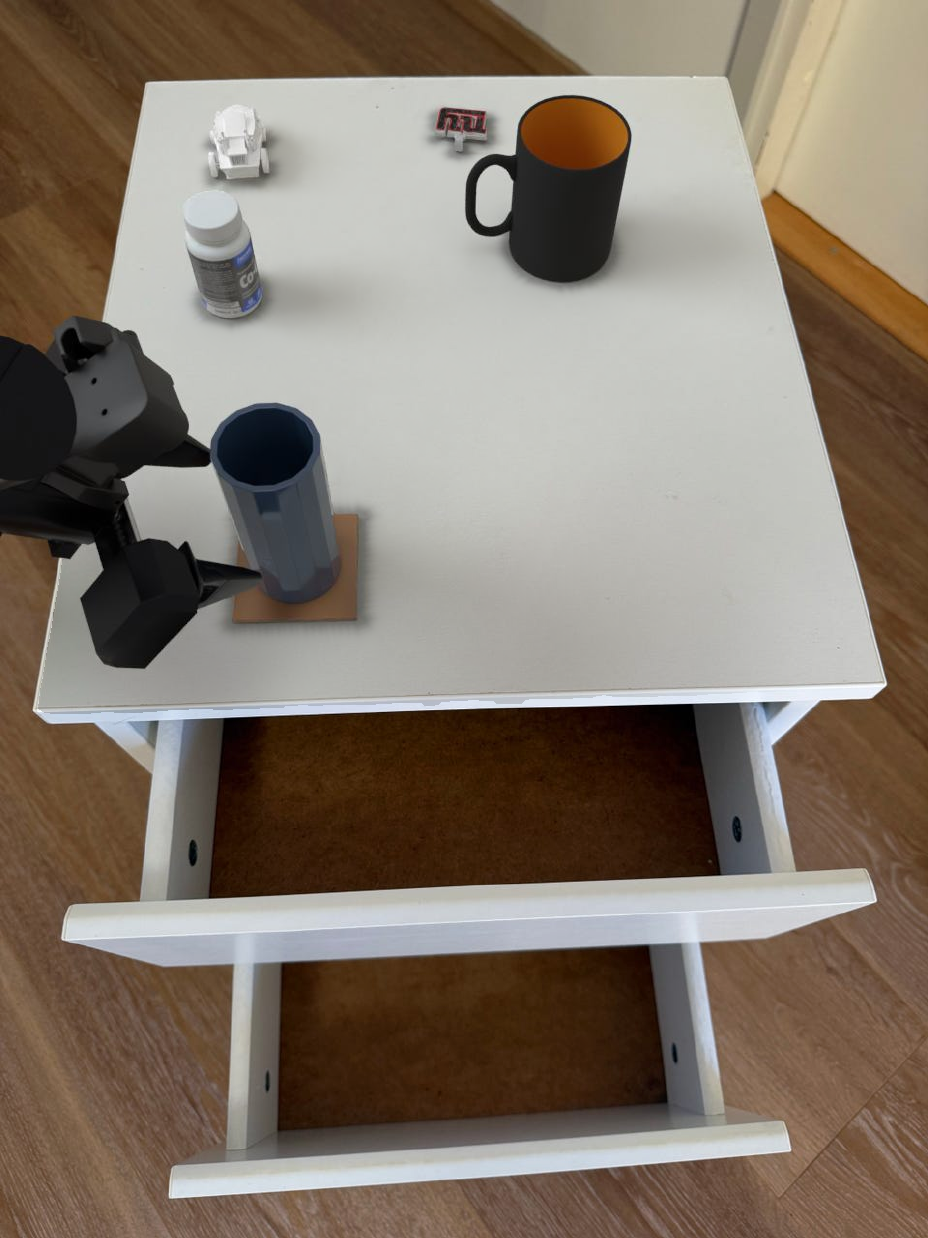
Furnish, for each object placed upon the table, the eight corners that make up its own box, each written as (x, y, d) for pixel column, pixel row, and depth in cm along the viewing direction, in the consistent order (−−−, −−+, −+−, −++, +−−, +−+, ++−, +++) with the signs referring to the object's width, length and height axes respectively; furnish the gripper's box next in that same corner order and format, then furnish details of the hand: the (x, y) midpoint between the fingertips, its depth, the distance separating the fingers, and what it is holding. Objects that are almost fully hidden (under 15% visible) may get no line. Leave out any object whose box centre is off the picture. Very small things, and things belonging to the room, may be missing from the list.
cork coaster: (233, 623, 64) (232, 620, 63) (241, 519, 67) (240, 515, 67) (356, 620, 64) (356, 617, 64) (357, 516, 68) (357, 513, 67)
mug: (456, 217, 81) (458, 102, 72) (598, 205, 82) (618, 89, 73) (471, 291, 77) (475, 179, 68) (620, 277, 78) (643, 165, 69)
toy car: (213, 191, 82) (202, 147, 78) (210, 127, 85) (200, 83, 82) (271, 186, 82) (263, 142, 78) (265, 123, 86) (257, 78, 82)
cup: (236, 588, 64) (191, 473, 53) (273, 516, 67) (237, 390, 55) (321, 615, 64) (294, 504, 52) (355, 540, 66) (336, 419, 55)
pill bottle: (259, 321, 75) (239, 233, 68) (198, 319, 75) (171, 231, 68) (266, 275, 78) (248, 186, 70) (207, 273, 78) (181, 184, 70)
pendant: (490, 108, 86) (485, 142, 83) (490, 121, 87) (484, 154, 84) (439, 104, 86) (432, 137, 83) (439, 116, 87) (432, 149, 84)
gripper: (95, 516, 38) (374, 563, 51) (-2, 206, 46) (261, 311, 58) (-25, 669, 44) (253, 678, 56) (-94, 369, 51) (164, 434, 64)
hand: (233, 518), depth 58 cm, fingers open, 9 cm apart
